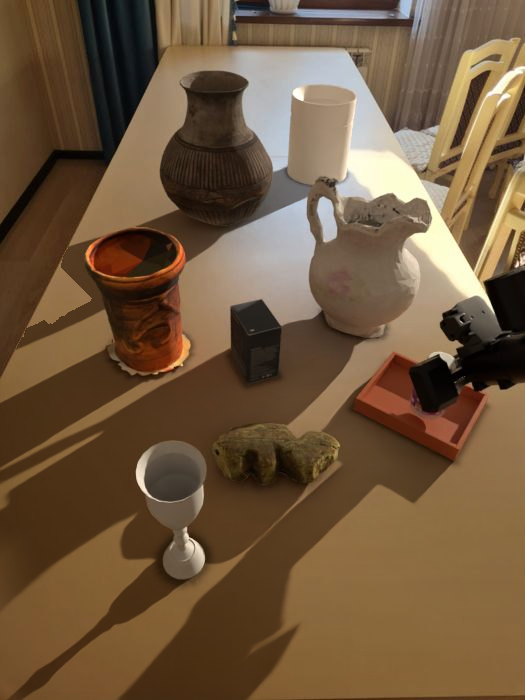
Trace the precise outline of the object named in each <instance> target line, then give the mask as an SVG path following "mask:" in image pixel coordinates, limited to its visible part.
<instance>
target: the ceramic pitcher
mask: <svg viewBox="0 0 525 700" xmlns="http://www.w3.org/2000/svg"><path fill="white" fill-rule="evenodd" d="M337 184H339V183H338V179H335V178H333V179H331V178H328V177H325V176H324V177H323V176H322V177H321V176H320V177H319V178H318V179H317V180H315V184H314V185H311V188H310V189H309V191H308V193H307V199H306V219H307V221H308V224H309V231H310V233H311V234H312V236H313V238H314V240H315V245H314V251H313V255H312V257H311V259H310V264H309V268H308V270H309V271H308V285H309V290H310V293H311V295H312V297H313V298H314V301H315V302H316V304H317V305H318V306H319V308H321V309H322V311H323V315H324V318H325V321H326V322H327V324H328V326H329V327H331V328H332V329H334V330H338V331H340V332H342V333H345V334H350V335H352V336H356V337H361V338H364V339H373V338H381V337H382V336H383V335H384V334H385V328H386V325H387V324H389V323H391V322H393V321H394V320H396V319H398V318H399V317H401V316H402V315H403V314H404V313H405V312H406V311H407V310H408V309H409V308H410V307H411V305H412V304H413V302H414V301H415V299H416V297H417V294H418V291H419V287H420V284H421V269H420V265H419V263H418V260H417V258H415V257H414V255H413V254H412V253H411V252H410V251H409V250H408V249H407V248H406V247H405V245H406V241H407V239H408V238H410V237H412V236H413V235H415V234H426V233H427V232H428V231H429V229H430V227H431V226H432V221H433V214H432V211H431V207H430V206H429V204H428V200H426V199H424V198H421V197H414V198H412V199H411V200H408V201H407V202H405V201H403V200H402V199H400V198H399V197H398V196H397V195H396V194H395V193H394V192H387V193H385V194H382V195H379V196H377V197H375V198H373V199H372V200H368V199H366V198H364V197H361V196H346V197H345V196H342V195H341V194H340V193H339V190H338V189H337V187H336V186H337ZM323 197H324V198H325V199H327V200H329V201H330V202H331V204H332V207H333V217H334V221H335V225H336V237H334V238H332V239H330V240H326V239H325V235H324V227H323V224H322V222H321V219H320V217H319V213H318V209H319V202H320V199H321V198H323Z"/></svg>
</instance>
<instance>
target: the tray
mask: <svg viewBox="0 0 525 700" xmlns="http://www.w3.org/2000/svg"><path fill="white" fill-rule="evenodd" d="M418 363H420V362H419V361H417V360H415V359H413V358H410V357H408V356H406V355H403V354H401V353H399V352H396V351H395V350H393V351H392V352H391V353H390V354H389V356H388V357H387V359H385V361H384V362H383V364H381V366H380V367H379V369H377V371H376V372H375V373H374V375H373V376H372V377H371V378H370V379H369V381H367V383H366V384H365V386H364V387H363V389H362V390H361V391H360V392H359V394H358V395H356V397H355V400H354V405H353V410H354V411H356V412H358V413H359V414H362V415H364V416H366V417H368V418H370V419H372V420H373V421H375V422H377V423H380V424H382V425H383V426H385V427H388V428H389V429H391V430H393V431H394V432H397V433H399V434H401V435H403V436H405V437H406V438H408V439H411V440H412V441H414V442H416V443H418V444H421V445H422V446H424V447H426V448H428V449H430V450H432V451H434V452H436V453H438V454H440V455H441V456H444V457H446V458H448V459H450V460H451V461H453V462H455V461H456V459H457V457H458V455H459V453H460V452H461V450H462V448H463V446H464V444H465V442H466V441H467V439H468V437H469V435H470V433H471V432H472V431H473V428H474V426H475V424H476V422H477V421H478V419H479V418H480V415H481V413H482V412H483V410H484V408H485V406H486V404H487V402H488V400H489V397H490V393H488V392H486V391H484V390H482V391H478V392H475V391H474V389H473V386H472V385H471V384H467V385H465V386H463V387H461V393H460V394H459V397H458V400H457V402H456V403H455V404H453V405H451V406H449V407H447V408H446V410H445V412H444V414H443V415H442V416H441V417H439V418H437V419H425V418H422V417H420V416H418V415H416V414H415V413H414V412H413V411H412V410H411V408H410V405H409V400H410V397H411V393H412V390H413V387H414V386H413V383H412V381H411V378H410V375H409V370H410V367H411V366H414V365H416V364H418Z"/></svg>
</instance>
